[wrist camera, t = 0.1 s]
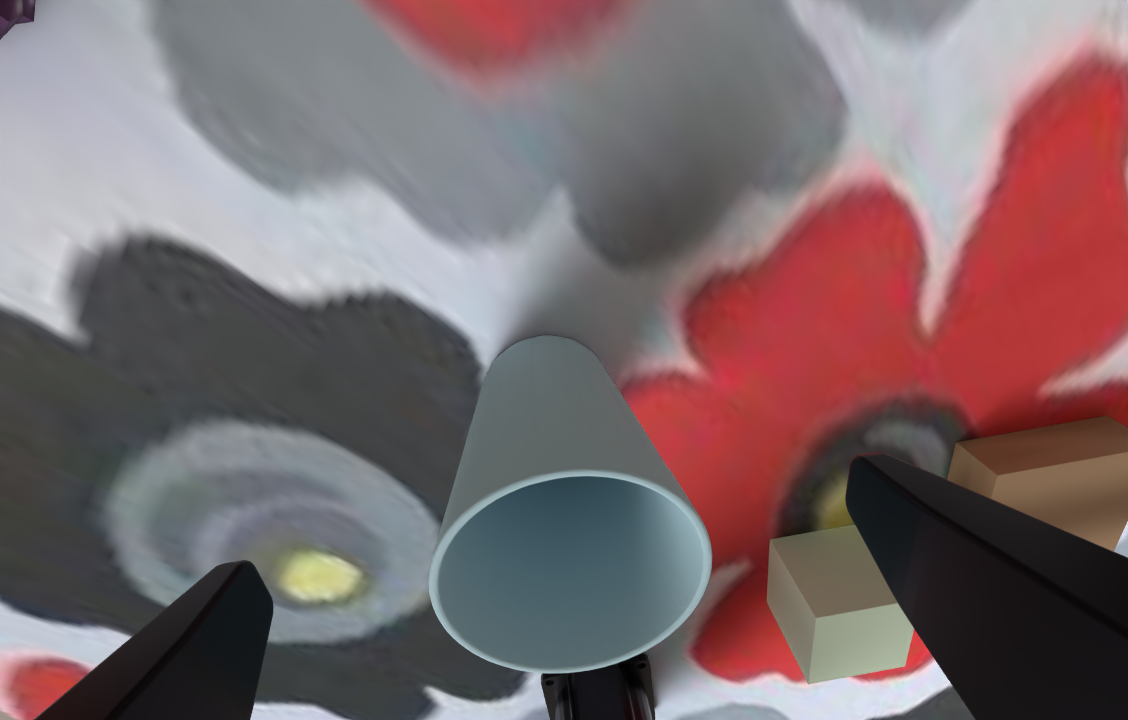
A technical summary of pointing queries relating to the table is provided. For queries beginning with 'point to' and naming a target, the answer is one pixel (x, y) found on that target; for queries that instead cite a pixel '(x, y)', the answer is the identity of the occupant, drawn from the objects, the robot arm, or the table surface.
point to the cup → (563, 522)
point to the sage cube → (835, 605)
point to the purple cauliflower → (15, 13)
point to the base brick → (1055, 475)
